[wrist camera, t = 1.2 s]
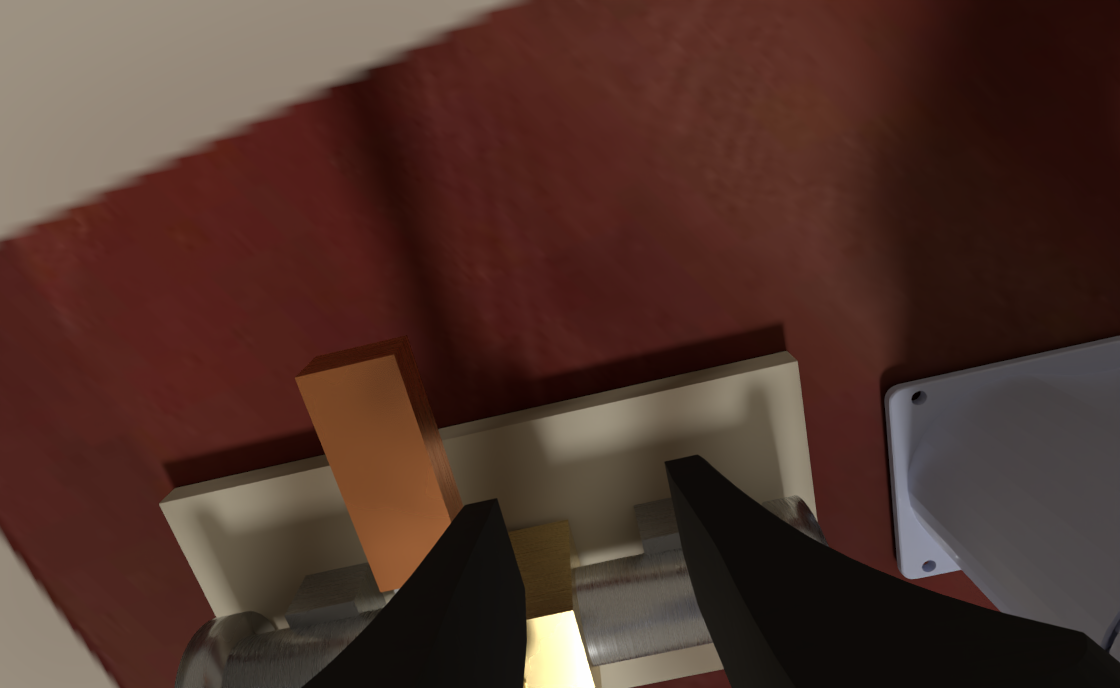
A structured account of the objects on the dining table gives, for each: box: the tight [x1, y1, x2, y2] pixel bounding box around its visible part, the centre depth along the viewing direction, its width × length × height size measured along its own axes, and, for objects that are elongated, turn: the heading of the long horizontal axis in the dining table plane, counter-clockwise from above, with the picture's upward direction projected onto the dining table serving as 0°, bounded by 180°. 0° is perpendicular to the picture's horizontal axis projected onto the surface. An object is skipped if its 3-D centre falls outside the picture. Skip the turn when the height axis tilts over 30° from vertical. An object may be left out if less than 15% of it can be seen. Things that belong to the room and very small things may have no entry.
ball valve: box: [175, 495, 829, 688], centre depth 20 cm, size 20×5×6 cm, turn 103°
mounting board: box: [159, 351, 817, 688], centre depth 24 cm, size 22×12×1 cm, turn 103°
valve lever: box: [295, 335, 464, 594], centre depth 15 cm, size 13×2×1 cm, turn 13°
